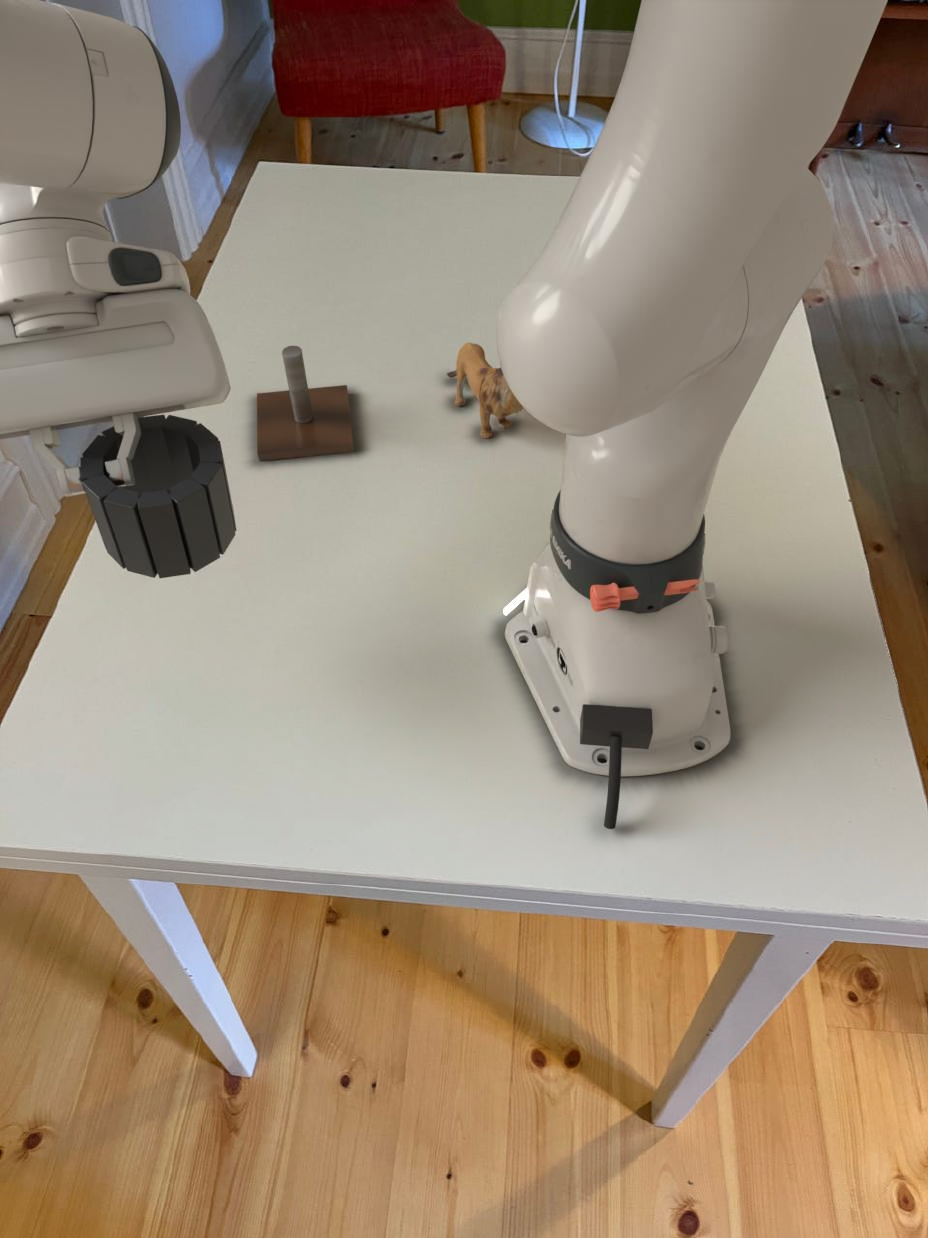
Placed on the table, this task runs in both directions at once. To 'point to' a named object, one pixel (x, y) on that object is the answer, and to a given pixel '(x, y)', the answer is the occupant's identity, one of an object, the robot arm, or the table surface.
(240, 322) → the table surface
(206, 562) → the dark grey grooved ring
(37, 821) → the table surface
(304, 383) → the peg stand
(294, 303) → the table surface
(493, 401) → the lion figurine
